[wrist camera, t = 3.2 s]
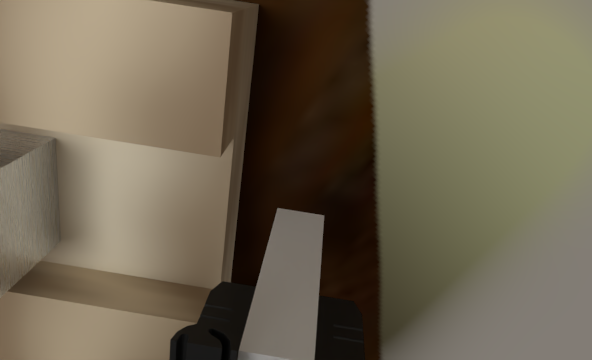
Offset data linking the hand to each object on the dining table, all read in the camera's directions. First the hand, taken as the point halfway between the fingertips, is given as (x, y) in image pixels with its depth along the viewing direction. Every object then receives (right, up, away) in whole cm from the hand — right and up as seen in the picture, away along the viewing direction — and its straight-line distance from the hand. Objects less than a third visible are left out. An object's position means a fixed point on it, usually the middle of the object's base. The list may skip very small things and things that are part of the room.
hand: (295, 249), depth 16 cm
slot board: (-10, +3, +4) cm, 11 cm away
